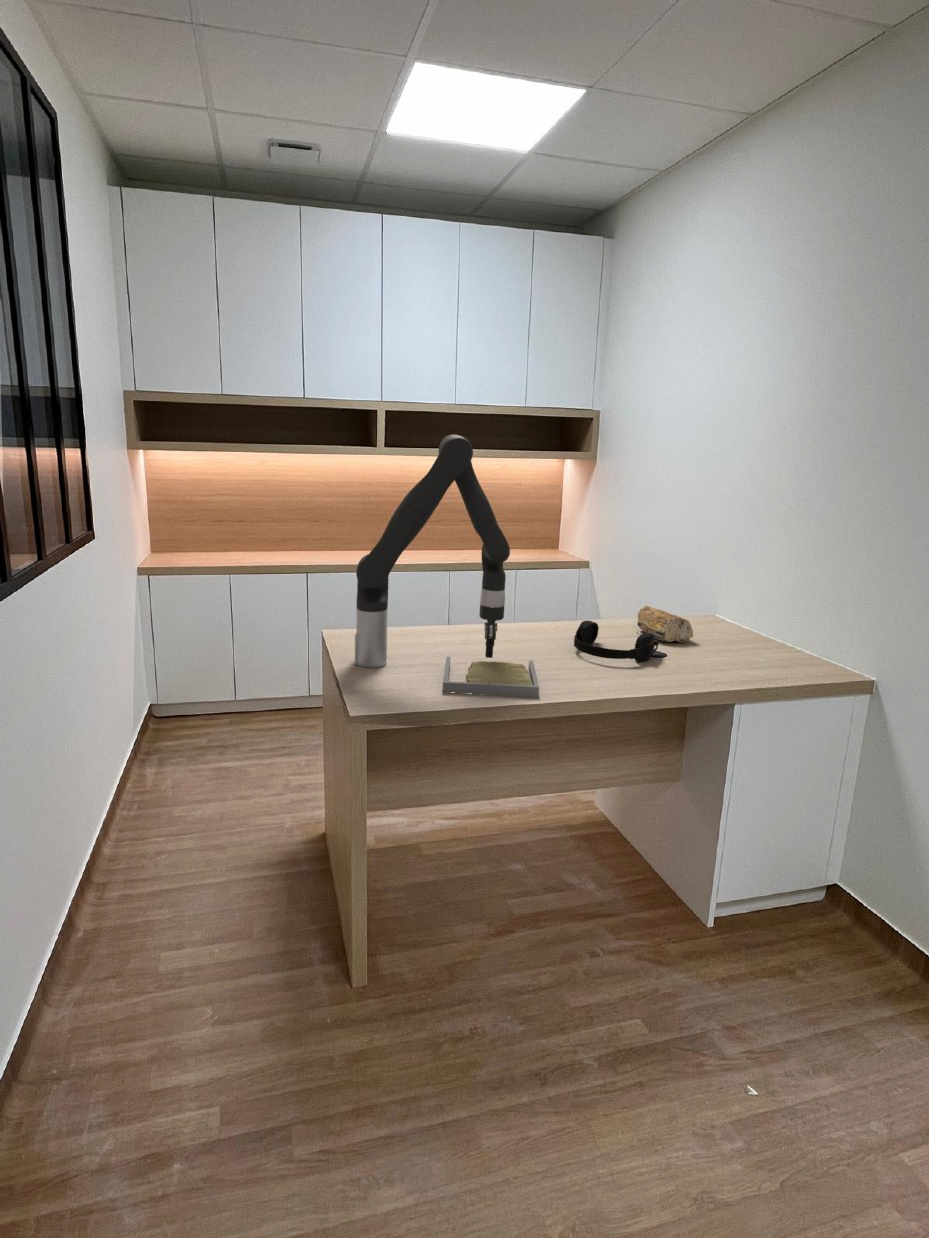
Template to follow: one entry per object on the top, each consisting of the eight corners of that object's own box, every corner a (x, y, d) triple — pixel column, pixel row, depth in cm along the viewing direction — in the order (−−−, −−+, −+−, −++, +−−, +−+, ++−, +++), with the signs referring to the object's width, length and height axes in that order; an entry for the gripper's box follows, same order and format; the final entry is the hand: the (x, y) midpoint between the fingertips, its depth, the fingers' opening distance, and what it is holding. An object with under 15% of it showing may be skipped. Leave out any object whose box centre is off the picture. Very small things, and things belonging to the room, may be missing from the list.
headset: (652, 646, 258) (655, 622, 256) (664, 670, 233) (667, 643, 230) (571, 640, 260) (573, 616, 258) (574, 663, 235) (576, 636, 233)
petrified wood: (630, 629, 276) (638, 603, 274) (659, 635, 281) (666, 609, 279) (661, 642, 258) (669, 615, 256) (690, 648, 263) (698, 621, 261)
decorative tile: (524, 672, 225) (525, 661, 224) (533, 696, 206) (534, 684, 205) (463, 671, 224) (464, 659, 223) (466, 694, 205) (467, 682, 204)
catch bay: (442, 692, 204) (442, 682, 203) (446, 665, 226) (446, 656, 226) (538, 697, 204) (539, 687, 203) (532, 670, 226) (533, 660, 225)
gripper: (480, 597, 232) (476, 650, 237) (480, 607, 220) (476, 663, 224) (504, 598, 232) (500, 651, 237) (505, 609, 220) (501, 664, 224)
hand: (488, 656), depth 230 cm, fingers closed
